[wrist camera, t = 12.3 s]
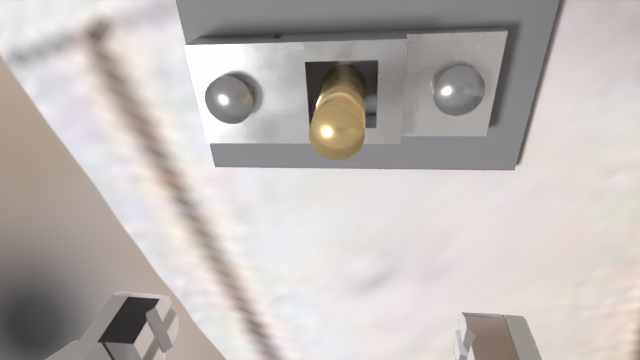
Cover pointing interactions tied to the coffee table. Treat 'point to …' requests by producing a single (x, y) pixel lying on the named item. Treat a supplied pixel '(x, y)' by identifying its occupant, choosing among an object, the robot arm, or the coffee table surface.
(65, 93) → the coffee table surface
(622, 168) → the coffee table surface
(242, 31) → the gray base plate
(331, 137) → the brass pin
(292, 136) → the slotted latch plate
